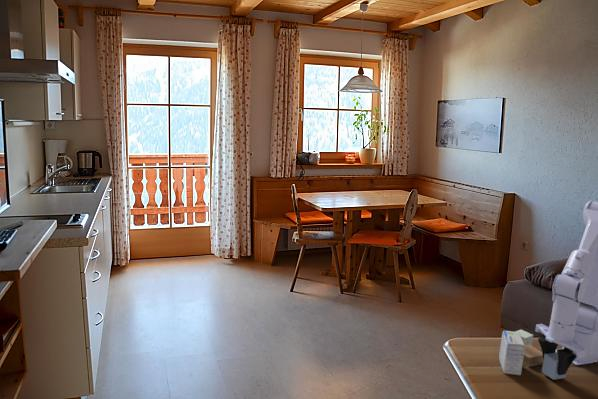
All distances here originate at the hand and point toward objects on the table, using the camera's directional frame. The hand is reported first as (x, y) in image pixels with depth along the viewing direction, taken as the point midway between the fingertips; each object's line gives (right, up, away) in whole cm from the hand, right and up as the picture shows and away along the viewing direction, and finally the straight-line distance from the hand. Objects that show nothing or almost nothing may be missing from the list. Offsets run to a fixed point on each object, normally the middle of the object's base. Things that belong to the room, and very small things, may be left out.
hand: (554, 369), depth 136 cm
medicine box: (-10, -1, +4) cm, 11 cm away
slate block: (0, -1, 0) cm, 2 cm away
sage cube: (-2, +1, +16) cm, 17 cm away
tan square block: (-3, -1, +9) cm, 9 cm away
